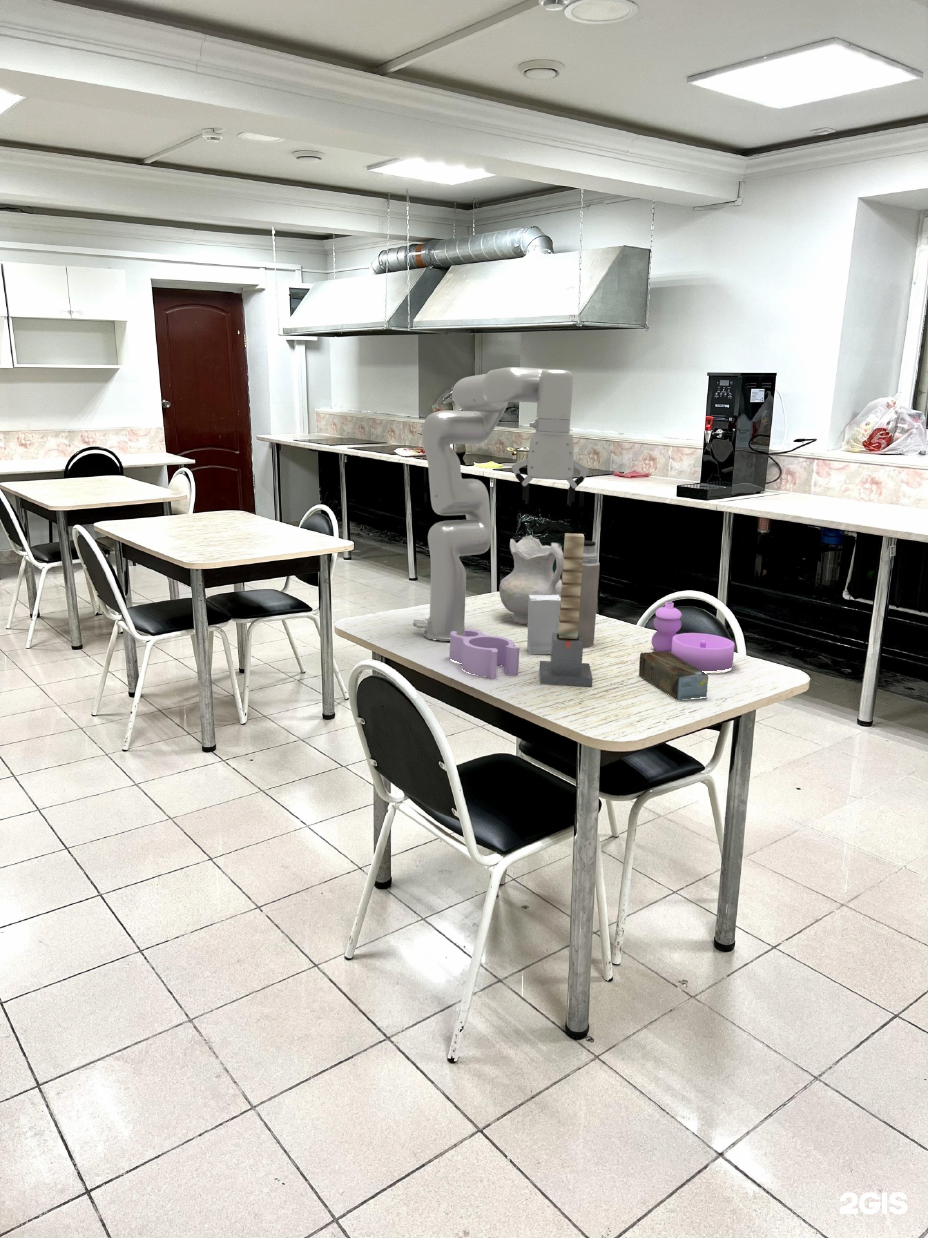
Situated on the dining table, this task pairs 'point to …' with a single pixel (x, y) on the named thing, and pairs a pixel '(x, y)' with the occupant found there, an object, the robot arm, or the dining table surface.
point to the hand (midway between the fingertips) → (547, 504)
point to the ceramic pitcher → (531, 575)
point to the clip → (484, 653)
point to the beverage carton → (673, 675)
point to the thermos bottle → (588, 594)
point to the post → (571, 586)
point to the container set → (691, 642)
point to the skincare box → (542, 622)
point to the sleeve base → (566, 663)
